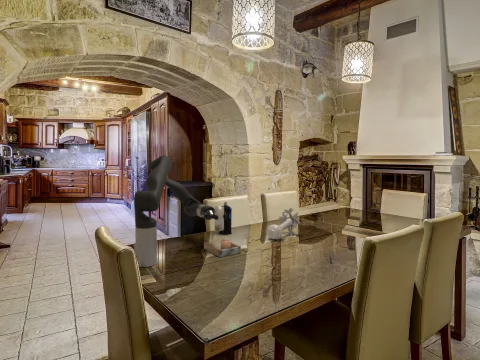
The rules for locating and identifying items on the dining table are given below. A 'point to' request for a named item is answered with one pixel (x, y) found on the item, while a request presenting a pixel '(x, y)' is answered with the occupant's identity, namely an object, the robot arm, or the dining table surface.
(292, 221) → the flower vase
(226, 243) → the cylinder
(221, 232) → the aerosol can
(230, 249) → the channel
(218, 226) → the shaft
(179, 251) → the dining table surface
